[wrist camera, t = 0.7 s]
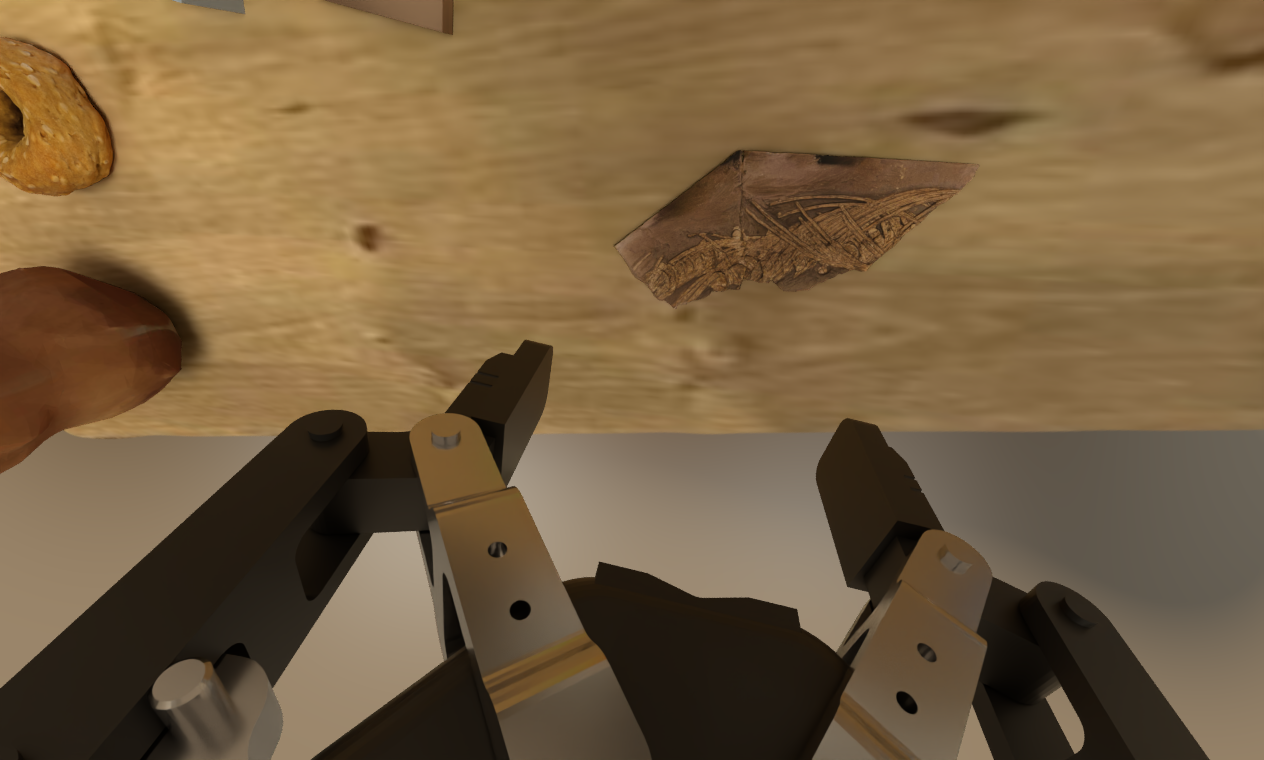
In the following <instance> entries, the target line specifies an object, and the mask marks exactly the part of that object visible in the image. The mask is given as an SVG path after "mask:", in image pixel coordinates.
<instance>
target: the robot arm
mask: <svg viewBox="0 0 1264 760" xmlns="http://www.w3.org/2000/svg"><path fill="white" fill-rule="evenodd" d="M552 356H553V347H552V346H550V345H546V344H542V343H538V342H534V341H530V340H524V341H523V343H522V344H521V346H520V347H519V349H518V350H517V351H516V353H515V354H514V355H510V354H505V353H500V354H498V355H496V356H494V357H492V358H490V359H488V360H486V361H485V363H484V364H483V365H482V366H481V368H480V369H479V370H478V373H477V374H475V375H474V377H473V378H472V379H471V381H470V383H468V384H467V385H466V387H465V388H464V389H463V391H462V392H461V393H460V394H459V396H458V397H457V398H456V399H455V401H454V402H453V403H452V405H451V406H450V407H449V408H448V410H447V411H446V412H445V413H443V414H436V415H432V416H429V417H426V418H424V419H422V420H421V421H419V422H418V423H417V424H415V425H414V427H413V428H412V430H411V431H408V432H367V426H366V423H365V421H364V419H363V418H362V417H360V416H359V415H357V414H355V413H353V412H349V411H344V410H324V411H318V412H314V413H311V414H308V415H305V416H303V417H301V418H299V419H297V420H296V421H294V422H293V423H292V424H290V425H289V426H288V427H287V428H286V429H285V430H284V431H283V432H281V433H280V434H279V435H278V436H277V437H276V438H275V439H274V440H273V441H272V442H270V443H269V444H268V445H267V446H266V447H265V448H264V449H263V450H262V451H261V452H259V454H257V455H256V456H255V457H254V458H253V459H252V460H251V461H250V462H249V463H247V464H246V465H245V466H244V467H243V468H242V469H241V470H240V471H239V472H238V473H236V474H235V475H234V476H233V477H232V478H231V479H230V480H229V481H228V482H227V483H225V484H224V485H223V486H222V487H221V488H220V489H219V490H218V491H217V492H216V493H215V494H213V495H212V496H211V497H210V498H209V499H208V500H207V501H206V502H205V503H203V504H202V505H201V506H200V507H199V508H198V509H197V510H196V511H195V512H194V513H193V514H191V516H189V517H188V518H187V519H186V520H185V521H184V522H183V523H182V524H180V525H179V526H178V527H177V528H176V529H175V530H174V531H173V532H172V533H171V534H169V535H168V536H167V537H166V538H165V539H164V540H163V541H162V542H161V543H160V544H159V545H157V546H156V547H155V548H154V549H153V550H152V551H151V552H150V553H149V554H148V555H146V556H145V557H144V558H143V559H142V560H141V561H140V562H139V563H138V564H137V565H136V566H134V567H133V568H132V569H131V570H130V571H129V572H128V573H127V574H126V575H125V576H123V577H122V578H121V579H120V580H119V581H118V582H117V583H116V584H115V585H113V586H112V587H111V588H110V589H109V590H108V591H107V592H106V593H105V594H104V595H103V596H101V597H100V598H99V599H98V600H97V601H96V602H95V603H94V604H93V605H92V606H91V607H89V608H88V609H87V610H86V611H85V612H84V613H83V614H82V615H81V616H79V618H77V619H76V620H75V621H74V622H73V623H72V624H71V625H70V626H69V627H68V628H66V629H65V630H64V631H63V632H62V633H61V634H60V635H59V636H57V637H56V638H55V639H54V640H53V641H52V642H51V643H50V644H49V645H48V646H47V647H45V648H44V649H43V650H42V651H41V652H40V653H39V654H38V655H37V656H36V657H34V658H33V659H32V660H31V661H30V662H29V663H28V664H27V665H26V666H25V667H24V668H22V669H21V671H19V672H18V673H17V674H16V675H15V676H14V677H13V678H11V680H9V681H8V682H7V683H6V684H5V685H4V686H3V687H2V688H0V760H271V757H272V755H273V753H274V751H275V748H276V746H277V744H278V742H279V739H280V736H281V733H282V727H283V713H282V710H281V707H280V705H279V703H278V700H277V698H276V696H275V693H274V691H273V689H272V688H273V687H274V685H275V684H276V682H277V681H278V679H279V678H280V676H281V675H282V673H283V671H284V670H285V668H286V667H287V665H288V664H289V662H290V661H291V659H292V658H293V656H294V655H295V653H296V651H297V650H298V648H299V647H300V645H301V644H302V642H303V641H304V639H305V638H306V636H307V634H308V633H309V631H310V630H311V628H312V627H313V625H314V624H315V622H316V621H317V619H318V618H319V616H320V615H321V613H322V611H323V610H324V608H325V607H326V605H327V604H328V602H329V601H330V599H331V597H332V596H333V594H334V593H335V591H336V590H337V588H338V587H339V585H340V584H341V582H342V581H343V579H344V578H345V576H346V575H347V573H348V571H349V570H350V568H351V566H352V565H353V564H354V562H355V561H356V559H357V558H358V556H359V554H360V553H361V551H362V550H363V548H364V547H365V545H366V543H367V542H368V541H369V539H370V538H371V536H372V534H373V533H377V532H378V533H379V532H400V531H416V533H417V537H418V541H419V545H420V549H421V554H422V558H423V562H424V565H425V570H426V574H427V579H428V583H429V587H430V591H431V596H432V599H433V605H434V612H435V619H436V626H437V632H438V636H439V642H440V646H441V651H442V655H443V659H444V662H442V663H441V664H440V665H438V666H437V667H436V668H434V669H433V670H431V671H430V672H429V673H428V674H426V675H425V676H424V677H422V678H421V679H420V680H418V681H417V682H415V683H414V684H412V685H411V686H410V687H408V688H407V689H406V690H404V691H403V692H402V693H400V694H399V695H397V696H396V697H395V698H393V699H392V700H391V701H389V702H388V703H387V704H385V705H384V706H383V707H381V708H380V709H378V710H377V711H376V712H374V713H373V714H372V715H370V716H369V717H368V718H366V719H365V720H363V721H362V722H361V723H360V724H358V725H357V726H355V727H354V728H353V729H351V730H350V731H349V732H347V733H346V734H344V735H343V736H342V737H340V738H339V739H338V740H336V741H335V742H334V743H332V744H331V745H330V746H328V747H327V748H325V749H324V750H323V751H321V752H320V753H319V754H317V755H316V756H315V757H314V758H312V759H311V760H957V756H958V753H959V749H960V745H961V742H962V738H963V734H964V731H965V727H966V723H967V719H968V716H969V712H970V709H971V705H973V708H974V710H975V712H976V715H977V718H978V720H979V723H980V725H981V728H982V731H983V733H984V735H985V738H986V740H987V743H988V745H989V748H990V751H991V753H992V756H993V758H994V760H1209V758H1208V757H1207V755H1206V754H1205V753H1204V751H1203V750H1202V749H1201V747H1200V746H1199V744H1198V743H1197V741H1196V740H1195V739H1194V737H1193V736H1192V735H1191V734H1190V732H1189V730H1188V729H1187V728H1186V726H1185V725H1184V723H1183V722H1182V721H1181V719H1180V718H1179V716H1178V715H1177V714H1176V712H1175V711H1174V709H1173V708H1172V707H1171V705H1170V704H1169V703H1168V701H1167V700H1166V698H1165V697H1164V696H1163V694H1162V693H1161V691H1160V690H1159V689H1158V687H1157V686H1156V684H1154V682H1153V680H1152V679H1151V677H1150V676H1149V675H1148V673H1147V672H1146V671H1145V669H1144V668H1143V666H1142V665H1141V664H1140V662H1139V661H1138V660H1137V658H1136V657H1135V655H1134V654H1133V653H1132V651H1131V650H1130V648H1129V647H1128V646H1127V644H1126V643H1125V641H1124V640H1123V639H1122V637H1121V636H1120V634H1119V633H1118V632H1117V630H1116V629H1115V627H1114V626H1113V625H1112V623H1111V622H1110V621H1109V619H1108V618H1107V617H1106V616H1105V615H1104V614H1103V613H1102V612H1101V611H1100V610H1099V609H1098V608H1097V607H1096V606H1095V605H1093V604H1092V603H1091V602H1090V601H1088V600H1087V599H1085V598H1084V597H1083V596H1081V595H1080V594H1078V593H1077V592H1075V591H1073V590H1071V589H1070V588H1067V587H1065V586H1063V585H1060V584H1057V583H1054V582H1047V581H1045V582H1041V583H1039V584H1037V585H1036V586H1035V587H1034V588H1033V589H1032V590H1031V591H1030V592H1029V593H1026V592H1024V591H1022V590H1020V589H1018V588H1015V587H1013V586H1011V585H1009V584H1007V583H1005V582H1003V581H1001V580H999V579H997V578H994V577H992V572H991V569H990V567H989V565H988V563H987V562H986V561H985V559H984V558H983V557H982V556H981V555H980V554H979V553H978V552H977V551H976V550H975V549H974V548H973V547H972V546H971V545H969V544H968V543H967V542H965V541H964V540H962V539H960V538H959V537H957V536H955V535H952V534H950V533H948V532H945V531H944V529H943V528H942V526H941V524H940V522H939V521H938V518H937V517H936V515H935V513H934V511H933V509H932V508H931V506H930V504H929V502H928V501H927V499H926V497H925V495H924V493H921V490H922V489H921V488H920V486H919V484H918V482H917V481H916V480H914V478H915V477H914V475H913V473H912V471H911V470H910V468H909V466H908V464H907V462H906V461H905V460H904V459H903V458H902V457H901V456H900V455H899V454H898V453H896V451H895V450H894V449H893V448H891V447H888V445H887V443H886V441H885V439H884V437H883V435H882V433H881V431H880V430H879V428H878V426H876V425H874V424H870V423H866V422H862V421H858V420H853V419H849V418H846V419H844V420H843V421H842V422H841V423H840V425H839V427H838V428H837V430H836V432H835V434H834V435H833V437H832V439H831V441H830V443H829V444H828V446H827V448H826V450H825V451H824V453H823V455H822V457H821V458H820V460H819V463H818V466H817V471H816V481H817V486H818V489H819V493H820V496H821V499H822V503H823V506H824V510H825V513H826V516H827V519H828V523H829V526H830V530H831V533H832V536H833V540H834V543H835V547H836V550H837V554H838V557H839V560H840V564H841V567H842V571H843V574H844V577H845V581H846V584H847V587H850V588H854V589H858V590H862V591H867V592H869V595H870V599H869V600H868V601H867V603H866V604H865V605H864V606H863V608H862V610H861V611H860V613H859V615H858V616H857V618H856V620H855V621H854V623H853V625H852V626H851V628H850V630H849V631H848V633H847V635H846V636H845V638H844V640H843V642H842V643H841V645H840V646H839V648H838V650H837V652H835V651H833V650H832V649H831V648H830V647H829V646H828V645H826V644H825V643H823V642H822V641H821V640H819V639H818V638H817V637H815V636H814V635H812V634H810V633H809V632H807V631H806V630H804V629H802V628H800V623H799V617H798V612H797V609H794V608H790V607H786V606H782V605H777V604H773V603H769V602H765V601H761V600H757V599H753V598H699V597H695V596H693V595H691V594H689V593H687V592H684V591H683V590H681V589H678V588H677V587H675V586H673V585H670V584H668V583H666V582H664V581H662V580H660V579H658V578H656V577H654V576H652V575H650V574H648V573H644V572H639V571H636V570H631V569H628V568H623V567H619V566H615V565H611V564H607V563H603V562H599V565H598V568H597V572H596V576H595V577H584V578H577V579H572V580H567V581H564V582H562V581H561V579H560V577H559V574H558V572H557V570H556V568H555V566H554V563H553V561H552V559H551V557H550V555H549V553H548V551H547V548H546V546H545V544H544V542H543V540H542V538H541V535H540V533H539V531H538V529H537V527H536V525H535V523H534V520H533V518H532V516H531V514H530V512H529V510H528V508H527V505H526V503H525V501H524V499H523V497H522V495H521V493H520V491H519V490H518V488H517V487H515V486H512V487H508V488H507V485H508V483H509V481H510V479H511V477H512V475H513V473H514V471H515V469H516V467H517V465H518V462H519V460H520V458H521V456H522V454H523V452H524V450H525V448H526V446H527V444H528V442H529V440H530V438H531V436H532V434H533V432H534V430H535V428H536V426H537V424H538V422H539V419H540V417H541V415H542V413H543V410H544V407H545V403H546V399H547V394H548V387H549V379H550V372H551V364H552ZM1061 686H1062V688H1063V690H1064V692H1065V693H1066V695H1067V697H1068V699H1069V701H1070V702H1071V704H1072V706H1073V708H1074V710H1075V711H1076V713H1077V715H1078V717H1079V719H1080V721H1081V723H1082V725H1083V729H1084V734H1085V735H1084V736H1085V738H1084V739H1085V740H1084V745H1083V747H1082V749H1081V750H1080V751H1079V752H1078V753H1076V754H1074V752H1073V750H1072V748H1071V746H1070V745H1069V742H1068V741H1067V739H1066V737H1065V735H1064V733H1063V731H1062V729H1061V727H1060V725H1059V723H1058V721H1057V719H1056V717H1055V716H1054V713H1053V712H1052V710H1051V708H1050V706H1049V704H1048V702H1047V700H1046V698H1045V697H1047V696H1048V695H1050V694H1051V693H1053V692H1054V691H1056V690H1057V689H1058V688H1060V687H1061Z"/></svg>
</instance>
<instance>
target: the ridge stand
mask: <svg viewBox="0 0 1264 760" xmlns="http://www.w3.org/2000/svg"><path fill="white" fill-rule="evenodd" d="M326 1H329V2H333V3H337V4H340V5H344V6H348V7H351V8H355V9H359V10H362V11H366V12H370V13H373V14H377V15H381V16H384V17H388V18H392V19H396V20H399V21H403V22H407V23H410V24H414V25H418V26H421V27H425V28H429V29H432V30H436V31H440V32H444V33H448V34H452V35H453V0H326Z"/></svg>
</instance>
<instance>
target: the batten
mask: <svg viewBox="0 0 1264 760" xmlns="http://www.w3.org/2000/svg"><path fill="white" fill-rule="evenodd" d="M173 1H177V2H180V3H185V4H191V5H197V6H202V7H208V8H214V9H220V10H225V11H231V12H237V13H243V14H245V9H244V3H243V0H173Z"/></svg>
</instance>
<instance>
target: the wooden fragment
mask: <svg viewBox="0 0 1264 760" xmlns="http://www.w3.org/2000/svg"><path fill="white" fill-rule="evenodd" d="M742 152H744V153H745V155H744V162H743V163H742V161H741V160H742V156H743V155H742ZM979 166H980V165H979V164H964V163H948V162H946V163H945V162H931V161H913V160H897V159H877V158H863V157H838V156H829V155H824V156H822V155H811V154H795V153H781V154H779V153H775V154H774V153H771V154H770V152H759V151H741V150H739V151H737V152H735V153H734V154H733V155H732V156H730V157H729V159H727V160H726V162H724V163H723V164H721V165H720V166H718V167H717V168H716V169H714V170H713V171H712V172H711V173H710V174H708V175H707V176H706V177H704V178H703V179H701V180H700V181H699V182H697V183H696V184H695V185H694V186H692V187H691V189H688V190H687V191H686V192H685V193H683V194H682V195H681V196H679V197H678V198H677V199H675V200H674V201H673V202H671V203H670V204H669V205H667V206H666V207H665V208H663V209H662V210H660V212H659V213H657V214H656V215H654V216H653V217H652V218H651V219H649V220H648V221H646V222H645V223H644V224H643V225H641V226H640V227H638V228H637V229H636V230H635V231H633V232H632V233H631V234H630V235H628V236H627V237H626V238H625V239H624V240H622V241H621V242H620V243H618V244H617V245H616V246H614V245H613V246H614V247H615V248H616V249H617V250H618V252H619V253H620V255H621V256H622V257H623V259H624V260H625V262H626V263H627V265H628V267H629V269H630V271H631V272H632V274H633V275H634V277H636V278H637V279H639V280H640V281H642V282H644V283H646V284H647V286H648V287H649V289H650V290H651V291H652V293H653V295H654V296H655V297H656V298H657V299H658V300H661V301H663V300H665V301H666V302H667V303H669V304H670V305H671V306H672V307H673V308H674V309H676V308H677V306H678V305H680V304H687V302H691V301H693V300H699V299H702V298H704V297H706V296H708V295H709V294H710V293H711V291H716V292H717V291H721V292H722V291H725V290H728V289H736V290H738V289H740V286H741V283H742V281H743V280H753V281H756V282H758V283H763V282H767V283H769V282H770V281H773V282H774V283H775V284H777V285H778V286H779V287H780V288H781V289H782V290H783V291H801V290H810V288H812V287H813V286H815V285H817V284H818V283H822V282H824V281H826V280H827V279H830V278H833V277H835V276H836V275H837V274H843V273H845V272H847V271H849V270H853V269H855V270H858V271H861V272H862V271H866V270H867V269H868V268H869V267H870V266H871V265H872V264H873V263H874V262H875V261H876V260H877V259H878V258H880V257H881V256H882V255H883V254H884V253H885V252H887V251H888V250H890V249H891V248H893V247H894V246H895V245H896V244H897V243H898V242H899V241H900V240H901V238H902V237H903V236H904V235H905V234H906V233H907V232H908V231H910V230H911V229H912V228H914V227H915V226H917V225H918V224H919V223H920V222H921V221H922V220H924V218H926V217H927V215H928V214H929V213H930V212H932V211H933V210H934V209H935V208H936V207H937V206H938V205H940V204H942V203H945V202H946V201H948V200H949V199H950V198H951V197H953V196H954V195H957V194H958V193H959V192H960V191H961V190H962V188H963V187H964V186H965V185H966V184H967V183H968V182H969V181H970V180H971V179H972V178H973V177H974V176H975V173H976V171H977V169H978V168H979Z"/></svg>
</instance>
